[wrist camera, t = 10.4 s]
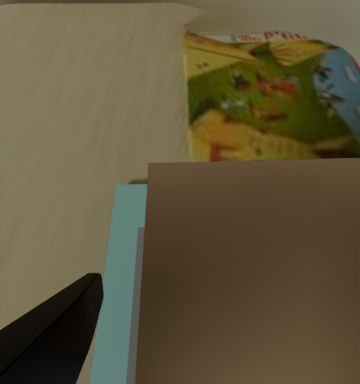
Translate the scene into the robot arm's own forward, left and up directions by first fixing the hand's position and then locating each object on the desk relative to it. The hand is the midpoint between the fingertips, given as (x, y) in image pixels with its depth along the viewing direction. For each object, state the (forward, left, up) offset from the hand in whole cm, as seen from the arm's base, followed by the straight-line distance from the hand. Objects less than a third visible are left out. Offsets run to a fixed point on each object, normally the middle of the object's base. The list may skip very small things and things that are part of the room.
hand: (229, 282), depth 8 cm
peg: (0, 0, -8) cm, 8 cm away
